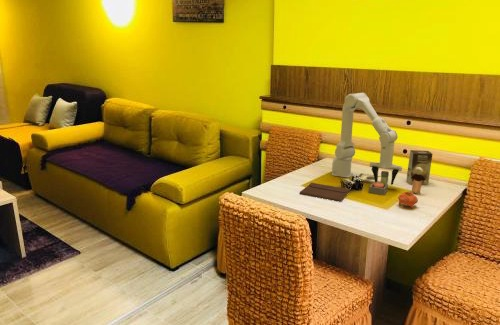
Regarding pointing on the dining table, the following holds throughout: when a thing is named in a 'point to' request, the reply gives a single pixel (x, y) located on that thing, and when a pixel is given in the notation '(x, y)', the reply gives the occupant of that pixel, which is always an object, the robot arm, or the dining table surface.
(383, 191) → the button housing
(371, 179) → the brown picture frame
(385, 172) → the marker
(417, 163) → the coffee box
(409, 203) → the pot
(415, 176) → the grandmother figurine
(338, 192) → the notebook
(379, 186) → the button
